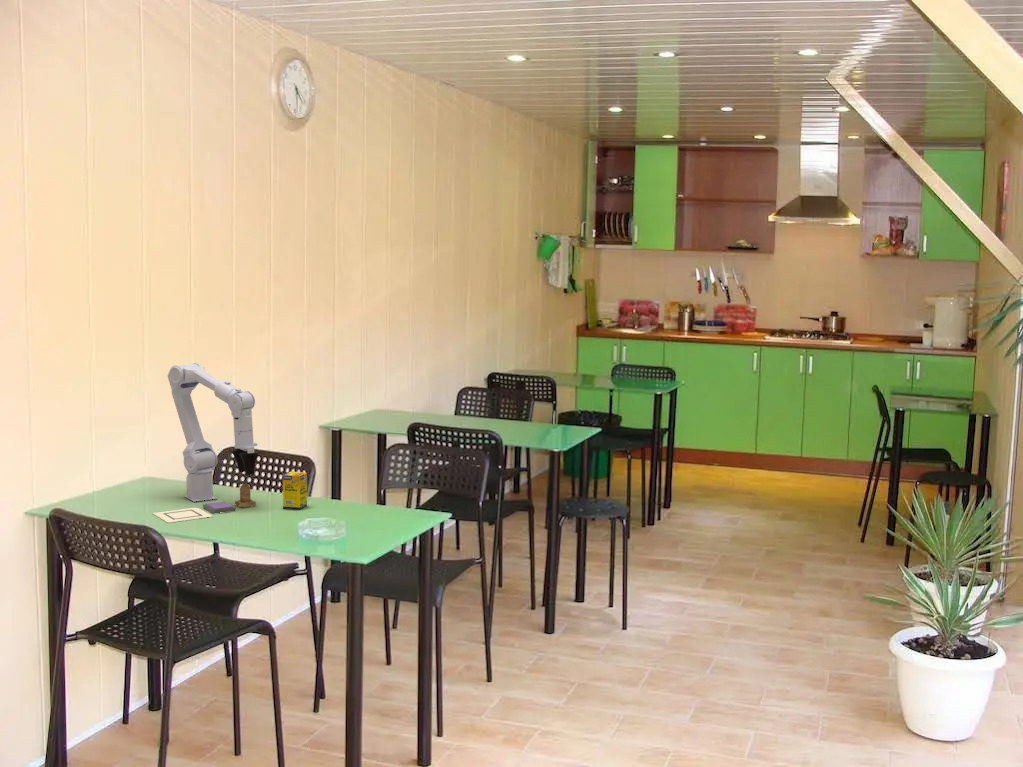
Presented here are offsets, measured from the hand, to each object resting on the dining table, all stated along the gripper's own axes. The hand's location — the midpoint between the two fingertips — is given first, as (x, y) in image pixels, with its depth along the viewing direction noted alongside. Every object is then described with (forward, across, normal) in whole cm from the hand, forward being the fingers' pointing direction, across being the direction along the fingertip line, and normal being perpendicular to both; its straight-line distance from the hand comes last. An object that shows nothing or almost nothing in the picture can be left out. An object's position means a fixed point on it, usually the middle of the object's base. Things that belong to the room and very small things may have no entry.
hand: (246, 473), depth 359 cm
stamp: (+11, +2, 0) cm, 11 cm away
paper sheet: (+10, -2, +21) cm, 23 cm away
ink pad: (+10, 0, +9) cm, 14 cm away
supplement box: (+12, -8, -13) cm, 19 cm away
